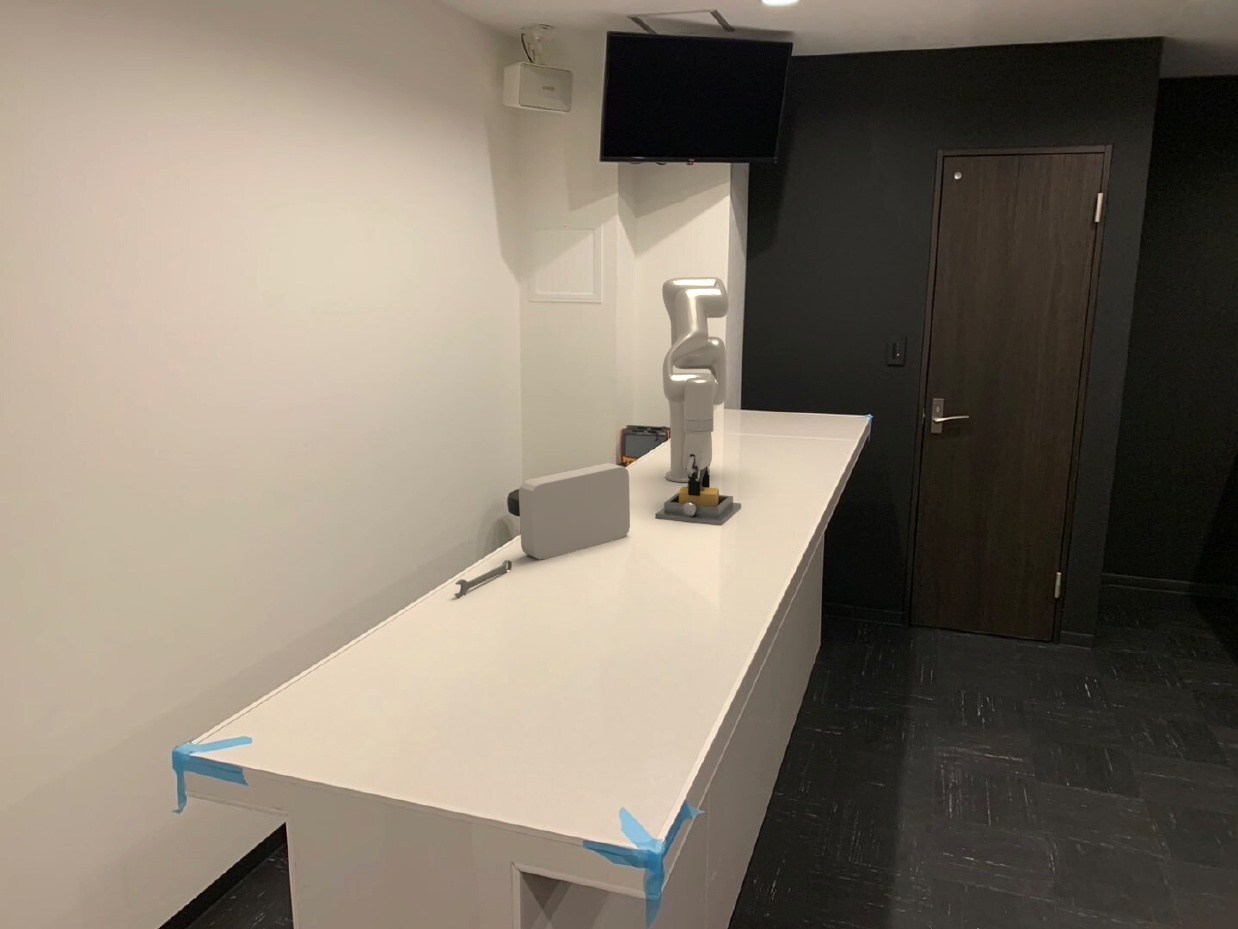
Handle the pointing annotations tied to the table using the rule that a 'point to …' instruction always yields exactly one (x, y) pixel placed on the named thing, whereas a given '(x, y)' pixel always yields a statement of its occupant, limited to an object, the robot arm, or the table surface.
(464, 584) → the combination wrench
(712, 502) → the rubber stamp
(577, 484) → the grey control panel
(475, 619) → the table surface
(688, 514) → the grey metal square tray
